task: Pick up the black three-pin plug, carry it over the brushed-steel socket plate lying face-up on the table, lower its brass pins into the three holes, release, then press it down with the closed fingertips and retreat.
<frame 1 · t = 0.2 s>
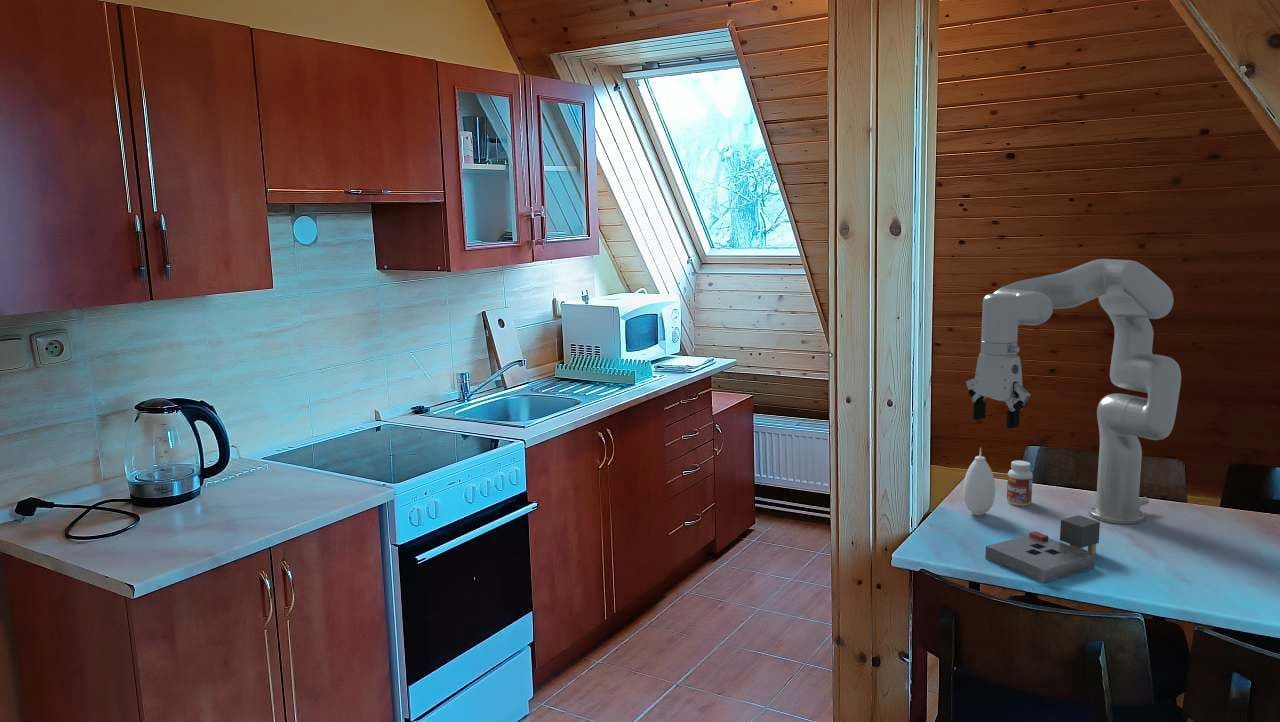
hand: (995, 423, 211), 31 cm above the table, fingers open, 9 cm apart
plug: (1078, 551, 214), on the table
socket: (1039, 563, 208), on the table
air blower bulb: (978, 515, 241), on the table
pill bottle: (1018, 503, 248), on the table
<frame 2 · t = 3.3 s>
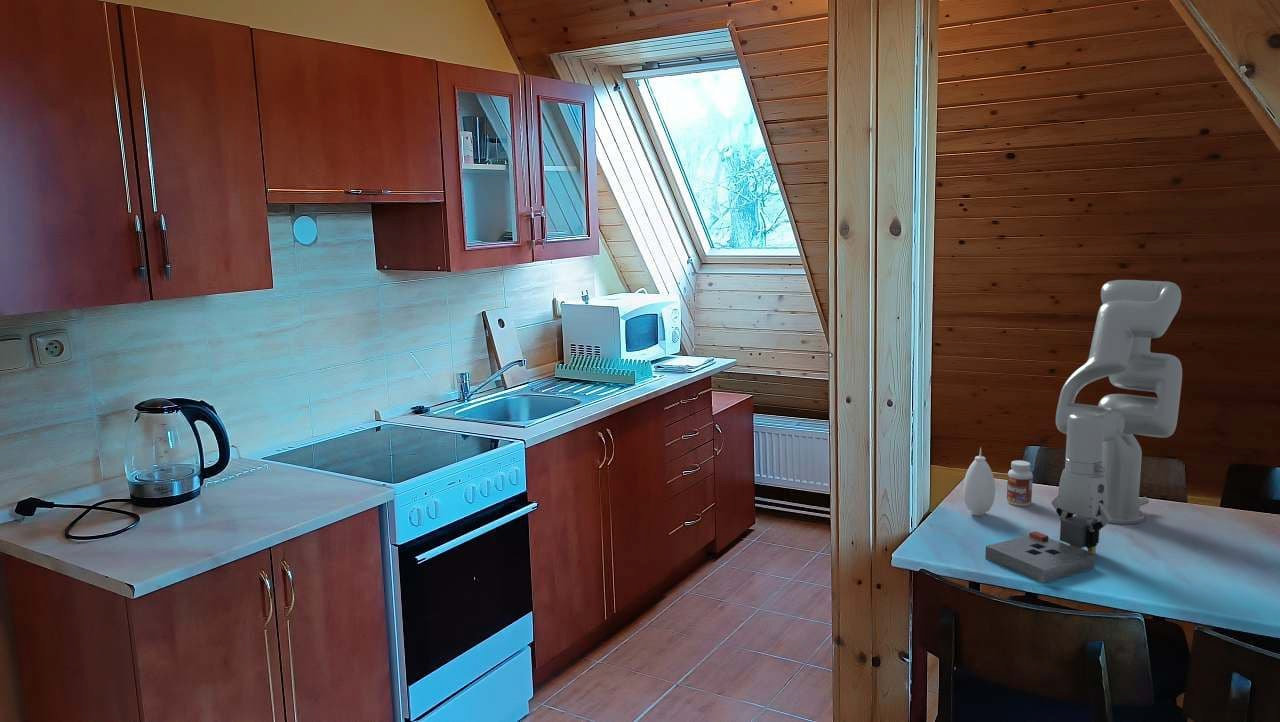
hand: (1079, 541, 214), 3 cm above the table, fingers closed on plug, 5 cm apart
plug: (1078, 551, 214), on the table, touching gripper
everything else where it was.
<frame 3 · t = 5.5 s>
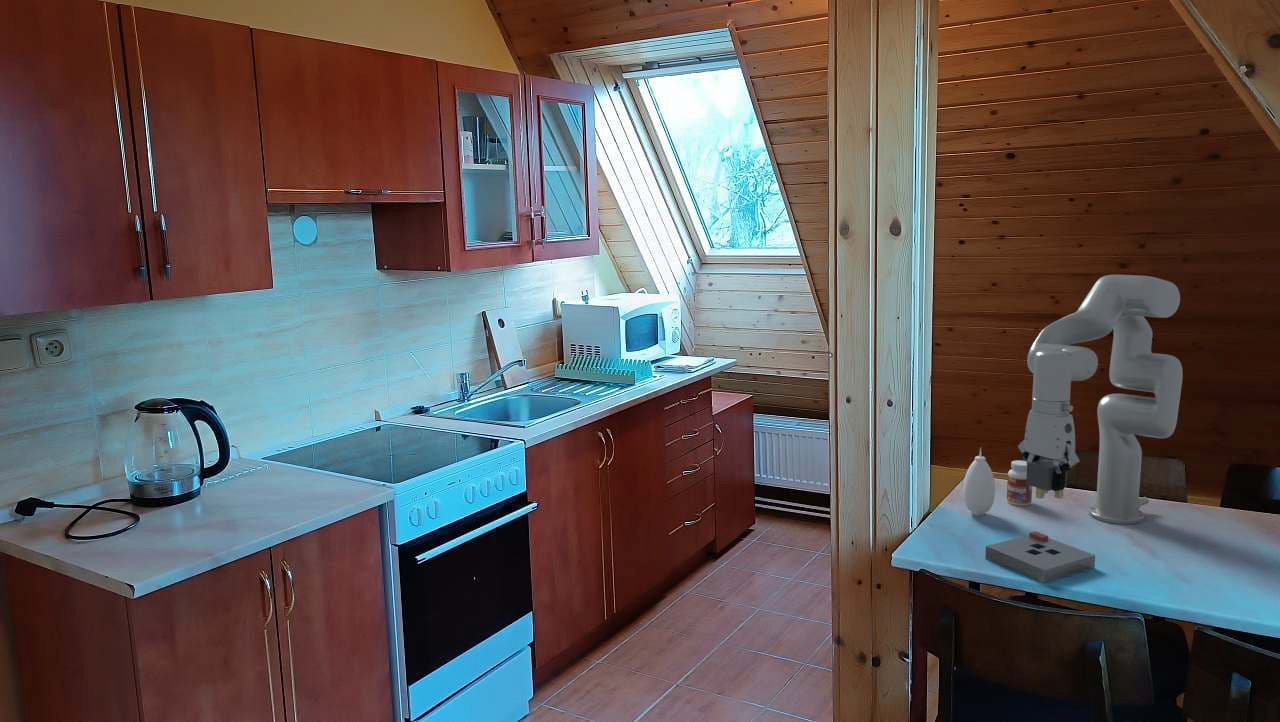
hand: (1046, 485, 206), 18 cm above the table, fingers closed on plug, 5 cm apart
plug: (1045, 496, 206), point 16 cm above the table, touching gripper
everything else where it was.
when the fingers open (3 cm above the table, at t = 7.8 s): plug stays where it is, resting on socket.
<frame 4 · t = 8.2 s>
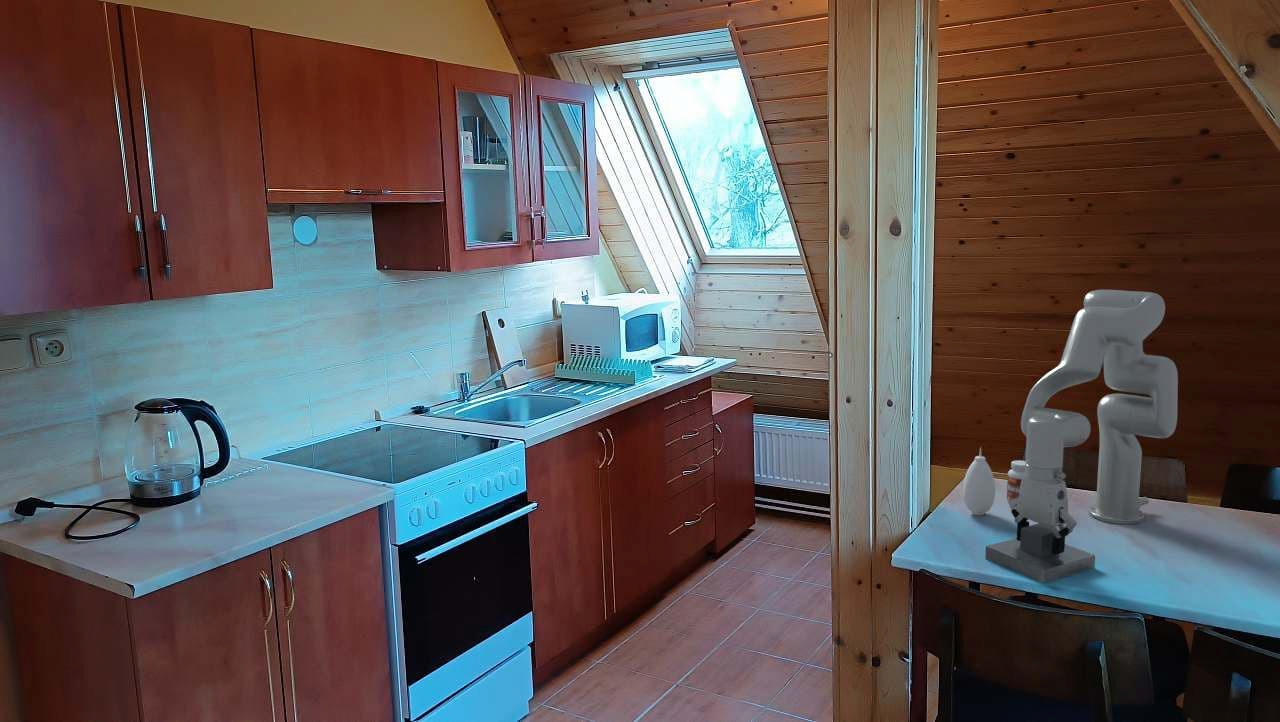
hand: (1039, 546, 208), 4 cm above the table, fingers open, 9 cm apart
plug: (1039, 561, 208), resting on socket
everything else where it was.
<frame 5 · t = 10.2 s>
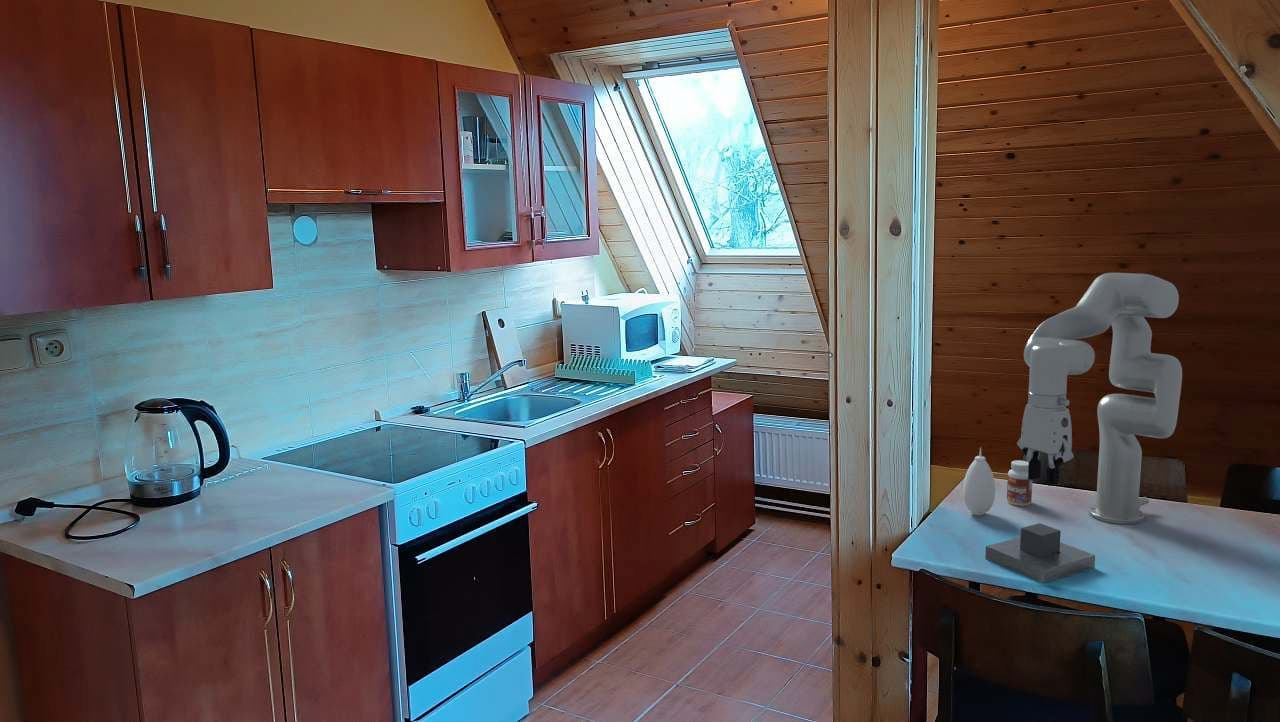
hand: (1043, 480, 205), 19 cm above the table, fingers open, 4 cm apart
nothing on the table moved.
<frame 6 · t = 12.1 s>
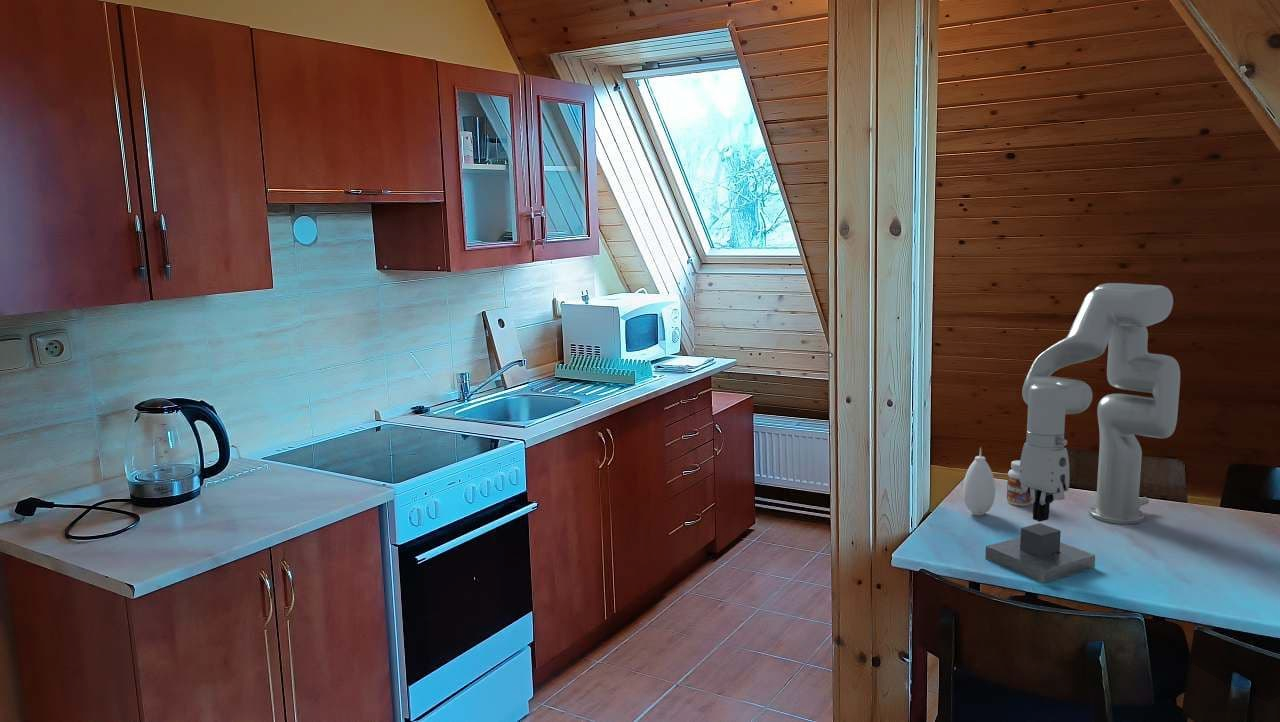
hand: (1040, 519, 206), 10 cm above the table, fingers closed
nothing on the table moved.
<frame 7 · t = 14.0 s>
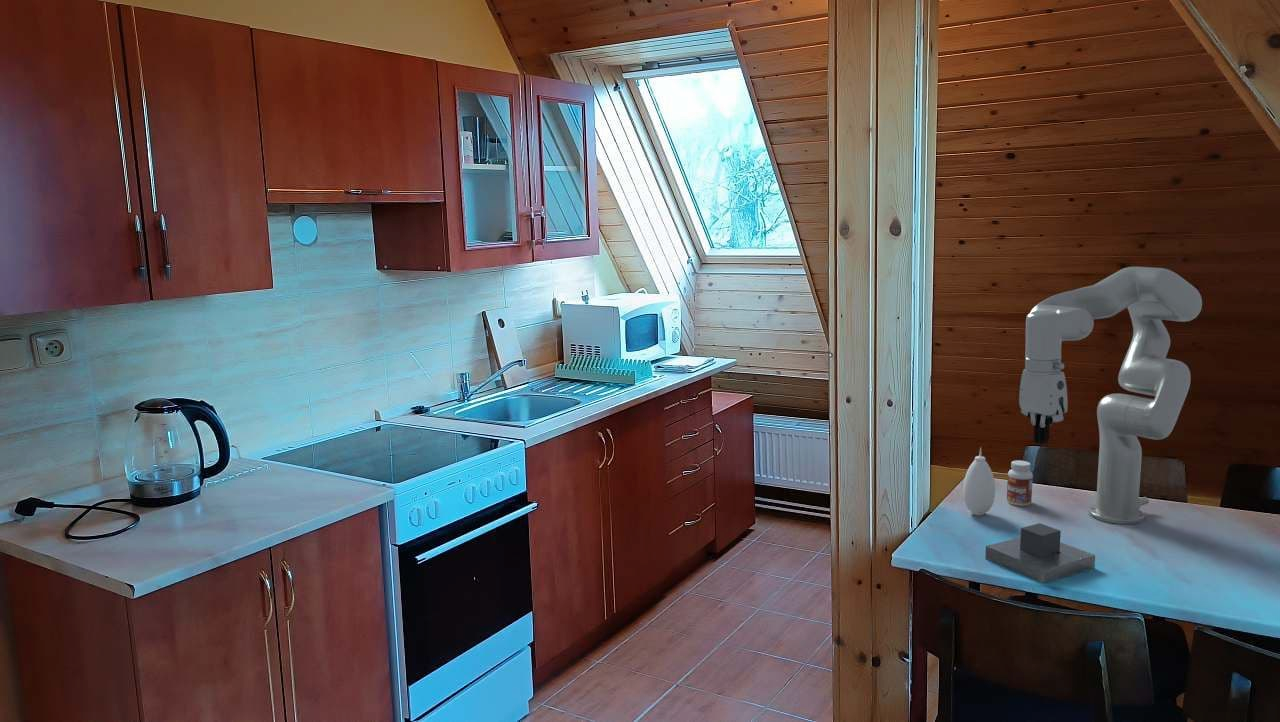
hand: (1041, 442, 216), 25 cm above the table, fingers closed
nothing on the table moved.
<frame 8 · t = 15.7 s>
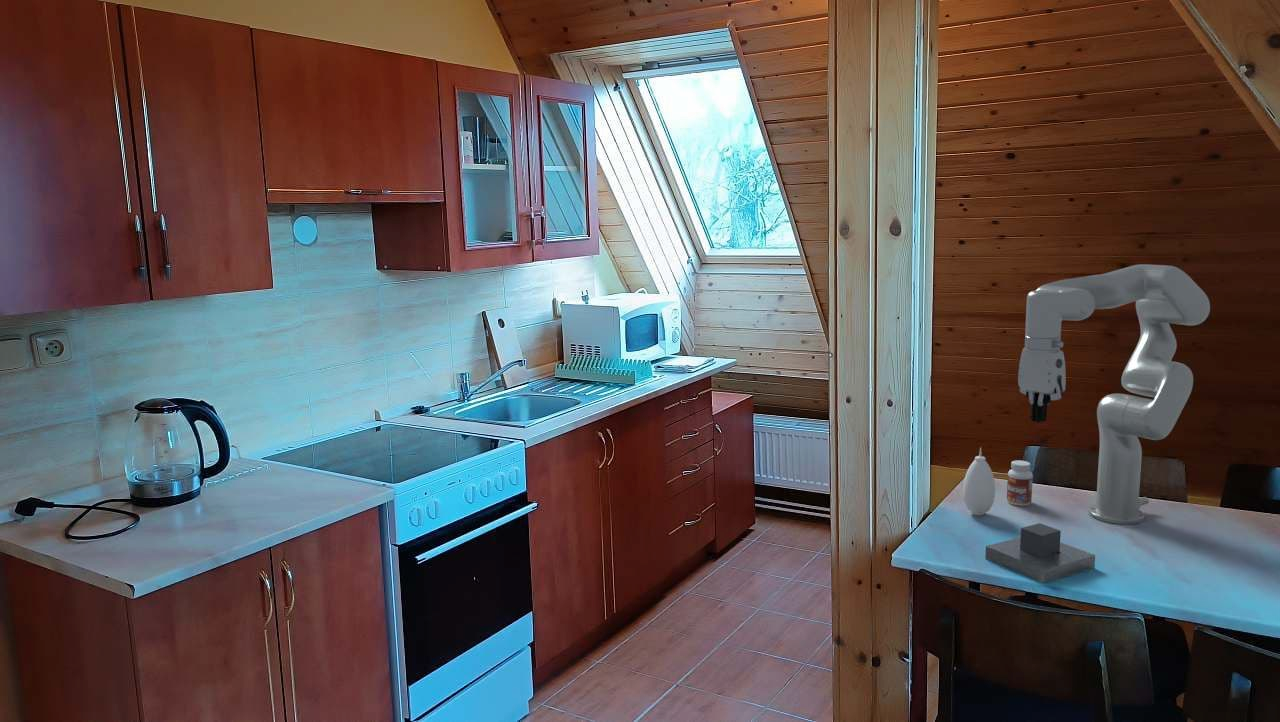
hand: (1038, 420, 218), 29 cm above the table, fingers closed
nothing on the table moved.
at the end: plug 0.0 cm off-centre on the socket, point 0.5 cm above the socket's base; plug tilted 0°; the gripper is holding nothing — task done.
